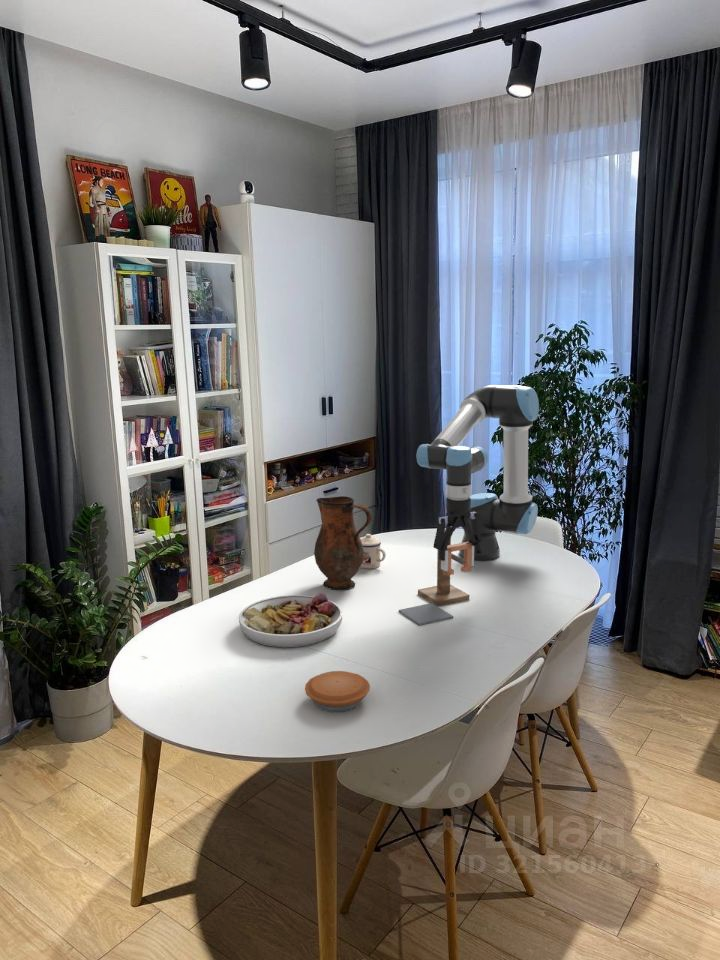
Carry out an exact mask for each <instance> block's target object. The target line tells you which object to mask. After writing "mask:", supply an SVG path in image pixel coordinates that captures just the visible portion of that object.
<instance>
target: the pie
mask: <svg viewBox="0 0 720 960" xmlns="http://www.w3.org/2000/svg"><path fill="white" fill-rule="evenodd" d="M370 689H371V684H370V682H369V681H368V680H367V679H366V678H365V677H364V676H362V675H361V674H358V673H355V672H351V671H344V670H333V671H327V672H323V673H320V674H317V675H314V676H312V677H311V678H310V679H309V680H308V681H307V682H306V684H305V686H304V691H305V694H306V695H307V696H308V697H309V699H311V701H312V702H313V704H314V705H315V706H316V707H317V708H318V709H321V710H322V711H326V712H328V713H329V712H330V713H345V712H349V711H351V710H353V709H356V708H357V707H358V706H360V704H361V703H362V701H363V700H364V698H365V697H366V696H367V694H368V693H369V691H370Z"/></svg>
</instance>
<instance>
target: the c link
mask: <svg viewBox="0 0 720 960" xmlns="http://www.w3.org/2000/svg"><path fill="white" fill-rule="evenodd" d="M446 550H447V551H448V571H444V574H445V575H447V576H448V575H450V576H452V575H453V576H454V575H455V569H453V568H452V559H451V553H452V552H458V551H459V550H464V557H463V559H464V560H465V563H464V564H461V565H460V571H461V572H463V573H467V572H472V566H471V551H472V543H470V542H464V543H461V542H460V543H454V544H453V543H452V544H451V545H448V546H447V548H446Z"/></svg>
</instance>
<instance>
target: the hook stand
mask: <svg viewBox="0 0 720 960" xmlns="http://www.w3.org/2000/svg"><path fill="white" fill-rule="evenodd" d="M444 532H445V531H444ZM451 539H452V538H451ZM451 539H450V541H449V543H448V545H452V544H451V541H452V540H451ZM436 551H437V554H436V555H437V557H436V558H437V562H436V564H437V565H436V566H437V567H436V572H437V573H436V585H433V586H429V587H424V588H420V589H418V588H417V595H419V596H420V597H422V598H423V599H425V600H427V601H429V602H430V603H433V604H434V605H436V606H438V607H441V606H445V605H448V604H449V605H450V604H454V603H458V602H463V601H468V600H470V594H468V593H467V592H465V591H463V590H461V589H460V588H458V587H456V586H454V585H452V584H451V575H448V576H447V575H445V574H444V570H442V569H441V560H440V559H439V550H438V549H436ZM451 560H453V561H455V562H457V563H459V564H461V565H464V563H465V560H464V558H463V557H460V556H458V555H456V554H454V553H452V552H451Z"/></svg>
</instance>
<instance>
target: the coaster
mask: <svg viewBox="0 0 720 960" xmlns="http://www.w3.org/2000/svg"><path fill="white" fill-rule="evenodd" d="M398 612H399V613H400V614H401V615H403V616H404V617H406V618H407V619H409V620H410V621H412V622H413V623H414V624H417V626H423V625H428V624H432V623H436V622H441V621H446V620H450V619H453V618H454V615H453V614H451V613H450V612H448V611H446V610H444V609H443V608H441V607H440V606H437V605H435V604H433V603H432V602H430V603H425V604H420V605H415V606H412V607H406V608H401V609H398Z"/></svg>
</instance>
